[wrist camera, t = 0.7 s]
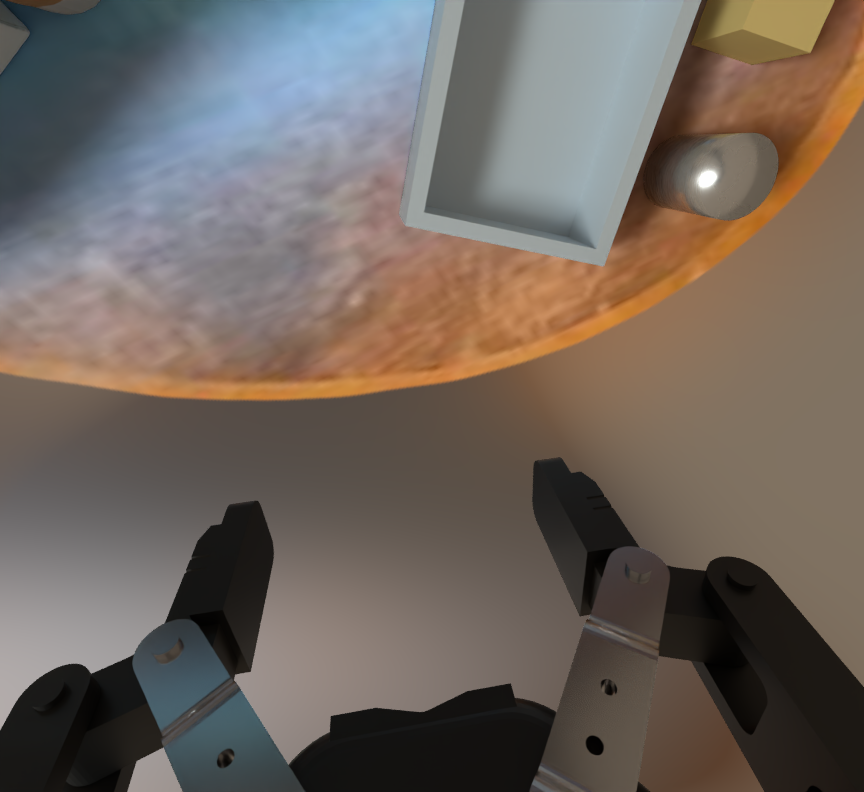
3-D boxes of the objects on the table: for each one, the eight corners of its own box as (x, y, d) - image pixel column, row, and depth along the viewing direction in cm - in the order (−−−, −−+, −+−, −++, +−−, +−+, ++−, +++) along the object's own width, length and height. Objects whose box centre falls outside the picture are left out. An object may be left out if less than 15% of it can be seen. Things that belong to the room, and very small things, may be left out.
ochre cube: (725, -50, 30) (787, -83, 26) (788, -25, 31) (859, -53, 27) (690, 44, 32) (742, 28, 28) (751, 64, 33) (810, 52, 29)
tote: (455, -117, 27) (476, -174, 22) (668, -38, 30) (727, -73, 25) (398, 214, 35) (405, 225, 30) (572, 250, 38) (603, 266, 33)
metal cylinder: (660, 127, 34) (725, 123, 28) (718, 143, 35) (793, 143, 29) (633, 200, 37) (688, 211, 30) (688, 213, 38) (753, 227, 31)
